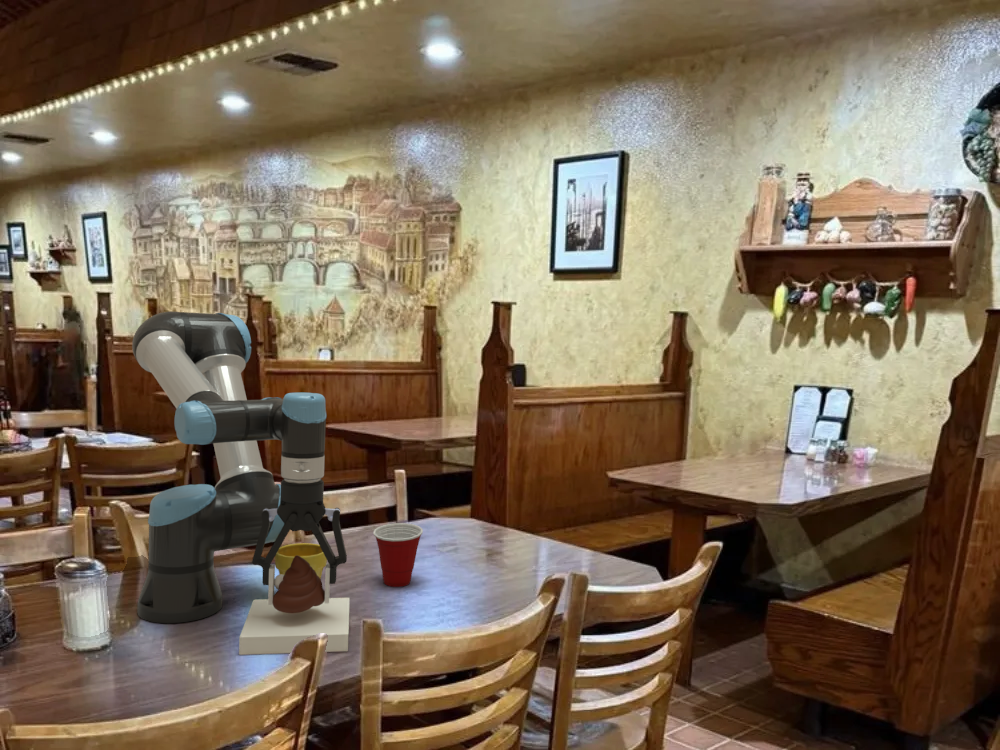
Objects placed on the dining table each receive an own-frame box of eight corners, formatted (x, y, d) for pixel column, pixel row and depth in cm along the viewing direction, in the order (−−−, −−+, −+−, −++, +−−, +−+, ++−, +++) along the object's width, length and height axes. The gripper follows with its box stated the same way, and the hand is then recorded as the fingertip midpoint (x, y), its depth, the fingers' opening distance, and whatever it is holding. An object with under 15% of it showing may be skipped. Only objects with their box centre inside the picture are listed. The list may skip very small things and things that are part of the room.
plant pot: (272, 589, 162) (273, 543, 161) (322, 585, 165) (323, 541, 165) (276, 607, 152) (277, 558, 152) (329, 602, 156) (330, 555, 155)
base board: (239, 654, 130) (239, 637, 130) (253, 614, 148) (253, 599, 147) (347, 651, 133) (348, 634, 133) (349, 612, 151) (349, 597, 151)
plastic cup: (361, 584, 167) (363, 530, 166) (390, 571, 177) (392, 520, 176) (402, 594, 162) (404, 538, 161) (430, 581, 172) (432, 528, 171)
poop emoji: (294, 618, 133) (296, 565, 133) (260, 607, 138) (262, 556, 137) (335, 602, 142) (337, 552, 141) (302, 592, 146) (303, 544, 146)
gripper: (235, 482, 133) (233, 610, 134) (364, 483, 137) (360, 607, 138) (242, 474, 140) (239, 595, 142) (363, 475, 144) (360, 593, 146)
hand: (299, 601), depth 140 cm, fingers closed on poop emoji, 9 cm apart
